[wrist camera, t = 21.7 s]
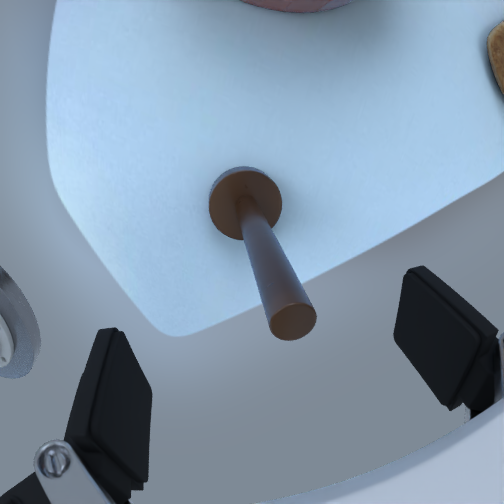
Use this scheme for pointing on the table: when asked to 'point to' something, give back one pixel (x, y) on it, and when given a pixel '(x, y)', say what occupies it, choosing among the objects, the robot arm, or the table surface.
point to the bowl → (298, 5)
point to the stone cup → (497, 53)
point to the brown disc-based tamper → (262, 247)
